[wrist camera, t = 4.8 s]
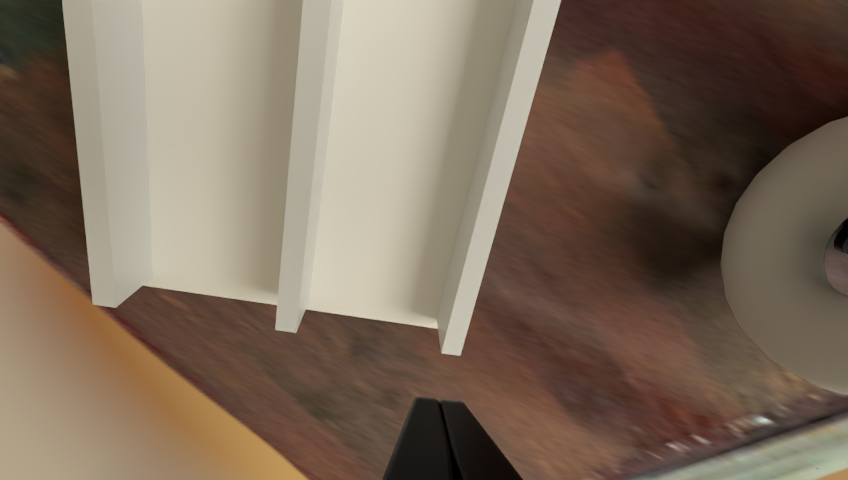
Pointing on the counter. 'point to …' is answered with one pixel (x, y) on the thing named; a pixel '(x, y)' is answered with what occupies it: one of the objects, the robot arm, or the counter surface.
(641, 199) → the counter surface
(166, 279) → the tiered shelf rack
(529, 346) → the counter surface
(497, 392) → the counter surface
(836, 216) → the donut
